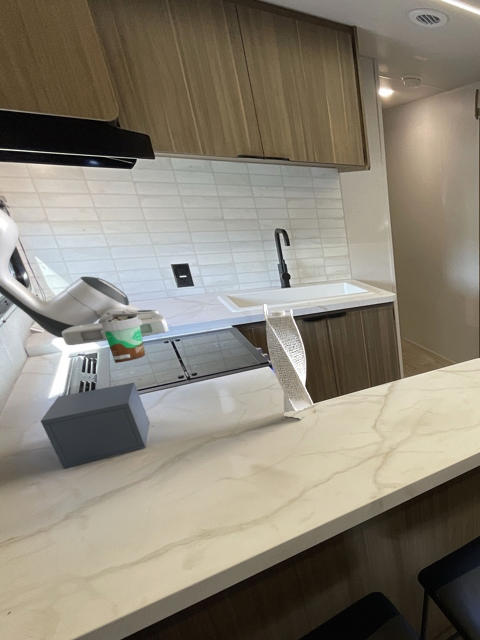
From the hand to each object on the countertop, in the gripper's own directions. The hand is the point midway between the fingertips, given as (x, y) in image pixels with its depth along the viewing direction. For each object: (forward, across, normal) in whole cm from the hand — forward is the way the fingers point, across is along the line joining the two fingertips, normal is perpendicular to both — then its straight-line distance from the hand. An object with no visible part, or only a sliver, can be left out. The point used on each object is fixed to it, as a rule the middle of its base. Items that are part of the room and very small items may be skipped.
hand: (115, 336), depth 99 cm
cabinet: (+19, -5, +20) cm, 28 cm away
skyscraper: (+31, +32, +20) cm, 49 cm away
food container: (+2, +2, +6) cm, 6 cm away
